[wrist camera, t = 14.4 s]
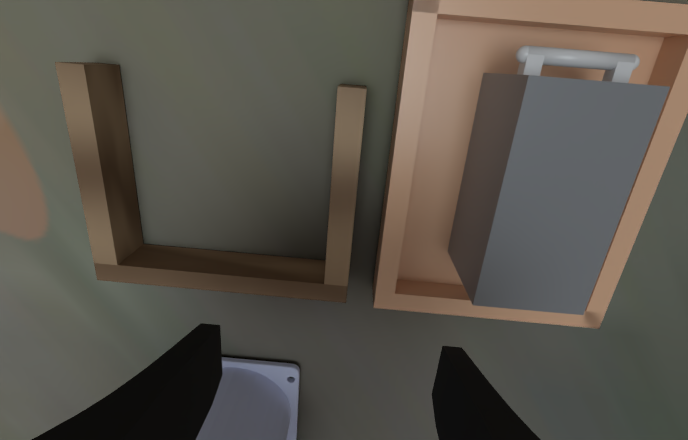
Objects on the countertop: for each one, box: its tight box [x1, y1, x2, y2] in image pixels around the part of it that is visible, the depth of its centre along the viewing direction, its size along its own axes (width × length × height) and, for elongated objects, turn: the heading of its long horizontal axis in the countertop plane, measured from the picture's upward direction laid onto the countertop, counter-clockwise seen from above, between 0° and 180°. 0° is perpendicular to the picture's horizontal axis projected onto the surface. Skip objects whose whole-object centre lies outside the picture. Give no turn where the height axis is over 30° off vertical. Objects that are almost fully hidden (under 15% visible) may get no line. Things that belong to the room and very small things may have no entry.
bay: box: [55, 62, 367, 303], centre depth 19 cm, size 10×13×2 cm
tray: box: [373, 0, 688, 329], centre depth 18 cm, size 15×12×2 cm
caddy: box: [448, 45, 670, 315], centre depth 16 cm, size 10×5×5 cm, turn 176°
